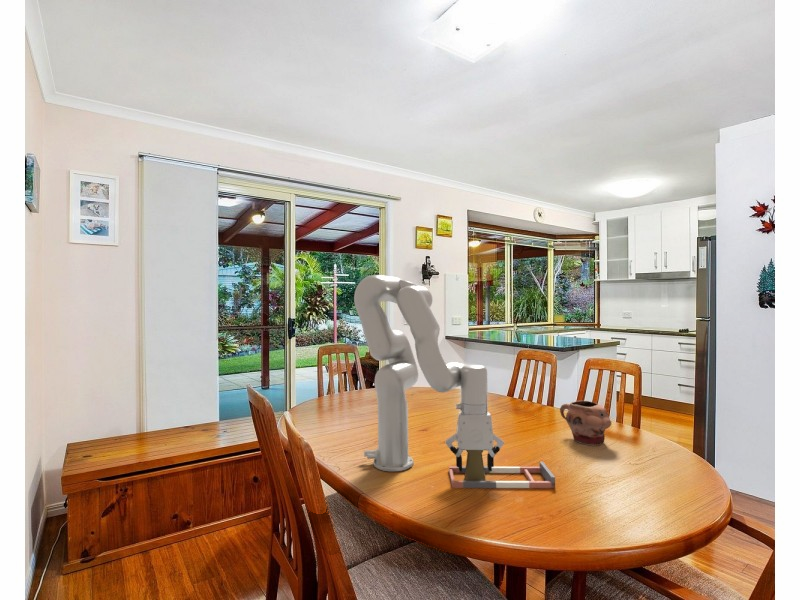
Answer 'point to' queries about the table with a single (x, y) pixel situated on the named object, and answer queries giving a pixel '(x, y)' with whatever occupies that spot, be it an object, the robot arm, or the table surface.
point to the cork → (474, 466)
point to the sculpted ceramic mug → (586, 421)
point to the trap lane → (507, 484)
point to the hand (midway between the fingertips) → (474, 469)
